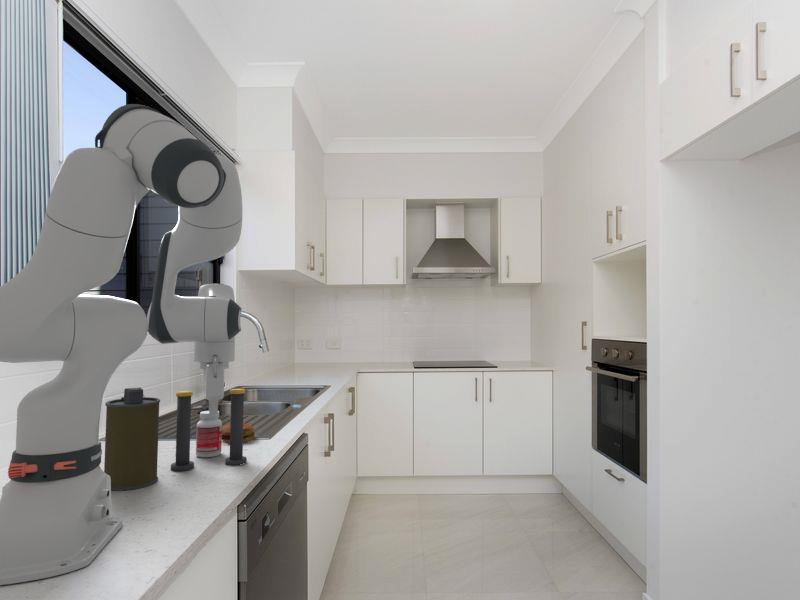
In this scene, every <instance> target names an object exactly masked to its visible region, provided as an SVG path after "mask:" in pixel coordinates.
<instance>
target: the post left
mask: <svg viewBox="0 0 800 600" xmlns="http://www.w3.org/2000/svg"><path fill="white" fill-rule="evenodd" d="M193 394H194V392H193V391H192V390H183V391H182V390H181V391H176V392H175V396H176V397H177V398H176V399H177V401H176V429H175V431H176V432H175V433H176V434H175V435H176V439H175V462H172V463H171V464H170V470H171V471H172V472H185V471H190V470H192V469H194V468H195V462H194V461H192V460H190V458H191V457H190V455H191V450H190V449H191V419H192V416H191V415H192V396H193Z"/></svg>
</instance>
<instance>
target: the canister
mask: <svg viewBox="0 0 800 600" xmlns="http://www.w3.org/2000/svg"><path fill="white" fill-rule="evenodd" d="M160 402H161V399H160V398H158V397H151V396H150V397H148V396H147V397H146V396H145V395H144V389H143V388H142V387H131V388H130V387H128V388H124V391H123V396H122V397H120V398H116V399H112V400H109V401H106V402H105V406H106V412H105V413H106V414H105V439H104V441H105V443H104V444H105V445H104V463H103V464H104V468H103V471H104V472H105V473H106V474H108V475H109V476H110V478H111V491H114V492H118V491H120V492H121V491H123V492H124V491H129V490H130V491H131V490H138V489H142V488H145V487H149V486H151V485H153V484H154V483H156V482H158V480H159V477H158V453H159V425H160V424H159V423H160Z"/></svg>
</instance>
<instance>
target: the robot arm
mask: <svg viewBox="0 0 800 600" xmlns="http://www.w3.org/2000/svg"><path fill="white" fill-rule="evenodd" d="M104 121H105V122H104V124H103V125H102V128H101V130H100V131H99V132H98V133H96V135H95V136H94V146H85V147H79V148H76V149H74V150H71V152H70V153H69V154H68V155H67V156H66V157H65V159H64V161H63V163H62V164H61V166H60V169H59V171H58V173H57V176H56V177H55V179H54V180H55V181H54V183H53V185H52V189H51V192H50V194H49V197H48V198H49V199H48V201H47V205H46V209H45V213H44V218H43V222H42V226H41V230H40V233H39V237H38V240H37V243H36V246H35V249H34V251H33V254H32V256H31V257H30V259H29V261H28V262H27V263H26V265H25V266H23V268H22V269H21V270H20V271H19V272H18V273H17V274H15V275H14V277H12V278H11V279H9V280H8V281H7V282H5V283H4V284H2V285H0V362H2V363H8V364H19V363H20V364H22V363H40V362H41V363H42V362H56V361H57V362H61V361H62V362H63V364H62V367H61V369H60V371H59V373H58V374H57V375H56V377H54V378H53V379H52V380H50V381H47V382H45V383H43V384H40V385H39V386H37V387H35V388H34V389H32V390H31V391H29V392H27V394H24V395H25V396H23V397H22V399H21V400H20V402H19V404H18V406H17V410H16V433H15V434H16V435H15V450H13V452H12V454H11V458H10V461H9V466H8V471H7V476H8V478H9V479H10V480H9V481H8V482H7V483H5V485H3V486H2V489H1V497H0V586H3V585H13V584H17V583H18V584H20V583H25V582H26V583H27V582H31V581H36V580H37V581H38V580H41V579H47V578H51V577H55V576H60V575H63V574H67V573H71V572H73V571H77V570H79V569H82V568H85V567H87V566H88V565H90V564H91V563H92V562H93V560H94V559H95V558H96V557H97V556H98V554H99V553H101V551H102V550H103V549H104V548H105V546H106V545H107V544H108V543H109V542H110V540H111V539H113V538H114V537H115V534H117V532H119V530H120V529H121V528H122V527H123V520H122V518H120V517H115V516H112V490H111V478H110V476H109V475H108V474H106V473H105V472H104V469H102V468H101V466H100V465H101V463H102V454H103V449H102V442H101V441H100V440H99V436H100V434H99V433H100V423H101V422H100V420H101V412H102V402H103V397H104V393H105V391H106V388H107V385H108V383H109V381H110V380H111V378H112V376H113V374H114V373H115V372H116V370H117V369H118V368H119V366H120V365H122V363H123V362H125V360H127V358H129V357H130V356H132V355H133V354H135V353H136V352H137V351H138V350H139V349H140V348H141V347H142V345H143V344H144V342H145V340H146V338H147V336H148V334H149V335H150V336H151V337H152V338H153V339H154V340H156V341H157V342H159V343H160V344H162V345H164V344H174V343H175V344H176V343H182V342H183V343H184V342H185V343H190V342H191V343H193V342H194V350H193V351H194V353H193V354H194V356H193V358H194V359H193V362H195V363H199V369H200V370H202V371H203V379H204V389H205V390H204V392H205V398H206V400H207V401H208V411H209V414H210V415H216V414H217V413H218V411H219V401H220V400H223V399H224V396H225V369H229V367H230V366H229V365H230V362H234V361H235V353H236V352H235V351H236V336H237V335H238V334H240V332H242V327H241V314H242V313H241V312H242V307H241V306H240V305H239V303H237V302H236V300H235V293H234V287H232V286H230V285H227V284H224V283H207V284H203V285H201V286H200V287H199V290H198V292H197V293H198V294H197V296H180V295H178V294H176V293H175V292H176V291H175V290H176V285H177V278H178V274H179V273H180V271H182V270H185V269H186V268H189V267H190V266H191V267H192V266H194V265H198V264H201V263H205V262H210V261H214V260H216V259H219V258H222V257H223V256H225V255H227V254H229V253H230V252H231V251H232V250H233V249H234V248H235V247H236V246H237V244H238V243H239V242H240V238H241V234H242V227H243V195H242V187H241V182H240V178H239V177H240V175H239V172H238V169H237V166H236V165H235V164H234V162H232V161H231V160H230V159H229V158H227V157H225V156H223V155H221V154H218V153H214V151H213V150H212V149H211V148H210V147H209V145H207V144H206V143H205V142H203V141H201V140H199V139H198V138H197V137H196V136H195V135H194V134H193V133H191V132H190V131H188V129H187V128H186V127H185V126H183V125H182V124H181V123H179V122H177V121H176V120H174V119H172V118H171V117H169V116H167V115H164V114H163V113H162V112H160V111H159V110H158V109H156V108H153V107H150V106H146V105H143V104H138V103H137V104H136V103H130V104H128V103H127V104H125V105H121V106H119V107H117V108H116V109H115V110H114V111H112V113H111V114H109V116H108V117H107V118H106V120H104ZM98 143H99V144H98ZM98 145H99V146H98ZM150 191H152V192H153V193H155V194H157V195H158V196H159V197H160V198H161V199H162V200H163V201H165V202H167V203H169V204H171V205H174V206H177V207H178V208H177V209H178V220H177V223H176V225H175V227H174V228H173V229H172V230H169V231H166V232H165V233H164V234H163V237H162V239H161V241H160V245H159V249H158V256H157V259H156V261H157V262H156V267H155V272H154V273H155V275H154V283H153V290H152V298H151V303H150V304H149V305H150V306H149V308H148V311H147V314H146V313H145V310H144V309H143V307H142V306H141V305H140V304H139V303H138V302H137V301H134V300H130V299H126V298H122V297H118V296H117V297H116V296H112V295H101V294H99V295H98V294H84V293H86V292H87V291H90V290H93V289H96V288H98V287H101V286H103V285H105V284H107V283H109V282H110V281H111V280H112V279H113V278H115V276H116V275H117V274H118V273H119V271H120V269H121V267H122V266H121V265H122V263H123V258H124V255H125V252H126V248H127V244H128V240H129V237H130V234H131V231H132V230H131V229H132V227H133V222H134V217H135V213H136V209H137V208H138V205H139V203H140V202H141V200H142V199H143V198H144V197H145V196H146V194H148V193H149V192H150Z"/></svg>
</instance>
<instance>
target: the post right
mask: <svg viewBox="0 0 800 600" xmlns="http://www.w3.org/2000/svg"><path fill="white" fill-rule="evenodd" d="M229 394H230V422H229V424H230V443H229V456H228V457H227V458H225V460H224V461H225V462H224V464H225V466H228V465H238V466H241V465H240V464H243V463H245V464H247V463H246V462H248V459H247V456H245V455H244V454H243V453H244V452H243V451H244V450H243V446H244V445H243V444H244V443H243V424H244V404H245V403H244V402H245V399H244V398H245V394H246V389H245V388H233V389H229ZM243 465H244V464H243Z"/></svg>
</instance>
